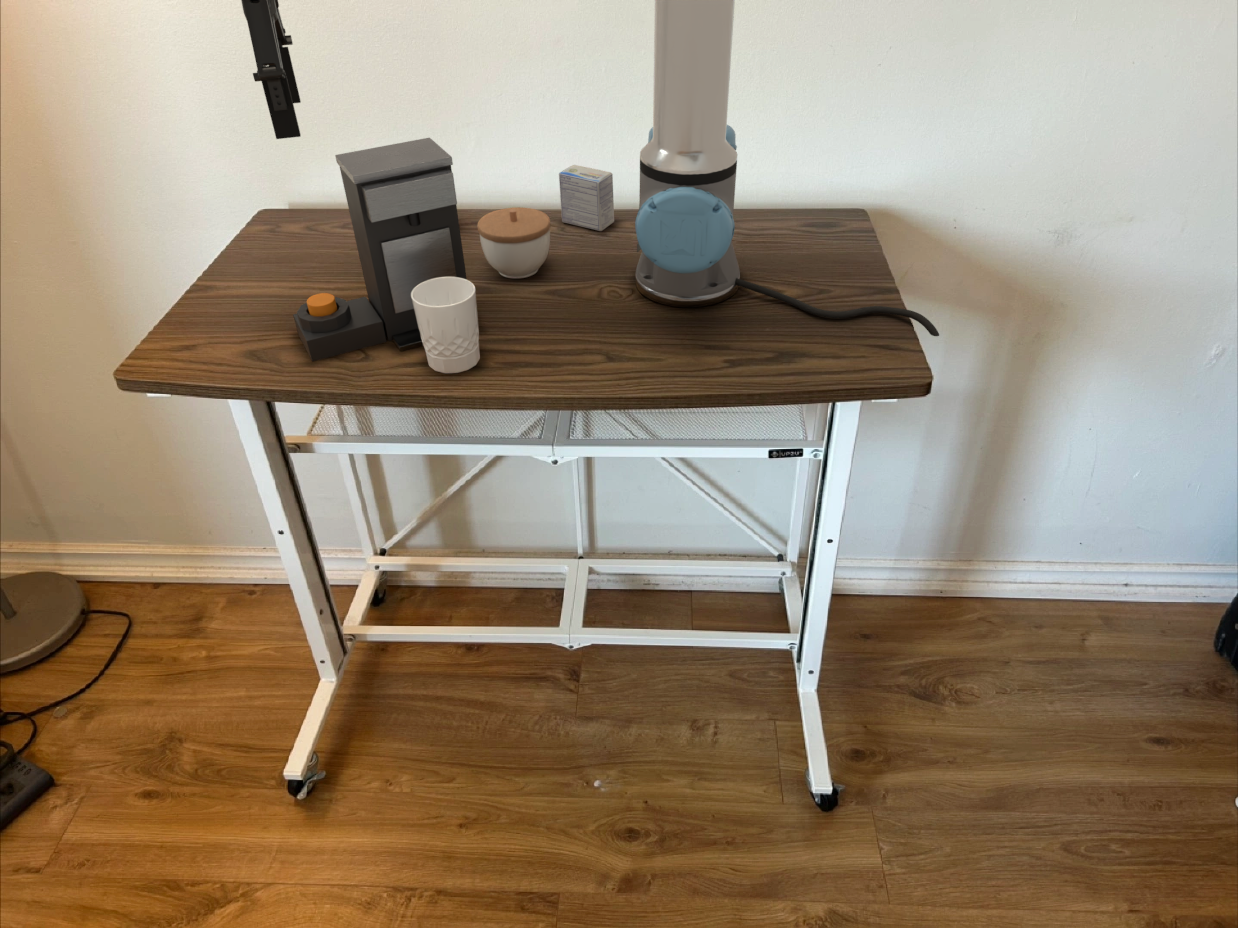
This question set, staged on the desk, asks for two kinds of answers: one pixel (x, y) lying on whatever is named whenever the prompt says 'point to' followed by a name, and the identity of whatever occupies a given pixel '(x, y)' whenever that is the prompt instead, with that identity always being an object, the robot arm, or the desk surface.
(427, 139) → the coffee machine
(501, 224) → the trinket box
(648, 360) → the desk surface
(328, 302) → the button
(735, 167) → the robot arm
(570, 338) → the desk surface
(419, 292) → the white cup
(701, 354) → the desk surface
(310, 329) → the button base
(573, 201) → the medicine box
